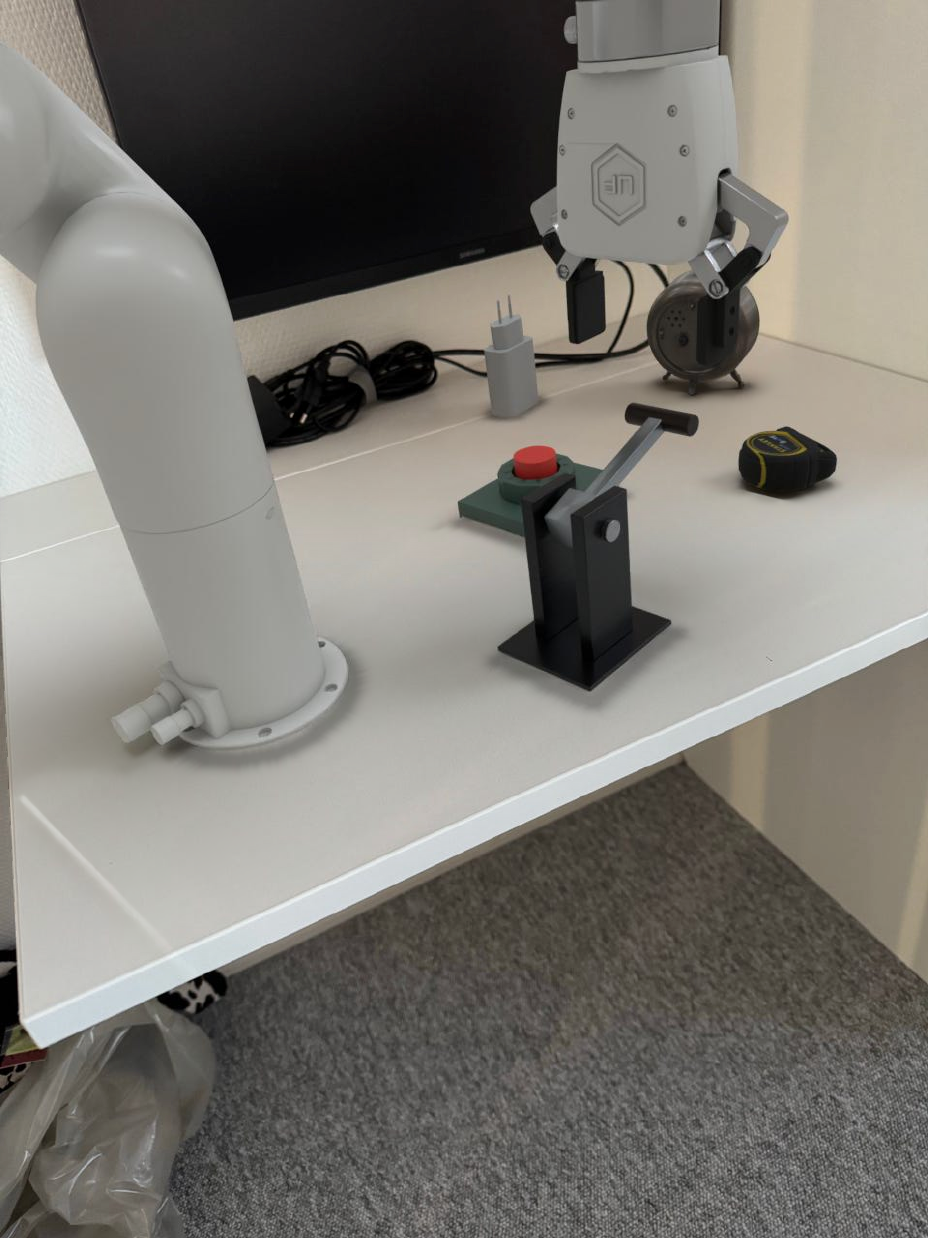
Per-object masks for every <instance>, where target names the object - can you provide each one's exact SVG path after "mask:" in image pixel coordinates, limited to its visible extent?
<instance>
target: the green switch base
mask: <svg viewBox="0 0 928 1238" xmlns="http://www.w3.org/2000/svg"><path fill="white" fill-rule="evenodd" d="M556 462H557V473H555V474H554V475H552V476H550V477H546V478H542V479H531V480H524V479H521V478H517V477H516V475H515V467H514V459H513V458H511V459H509V460H507V461H505V462H504V463H502V464H501V465H500V467H499V469H498V471H497V473H496V477H497V478H496V479H493V480H492V481H490V482H489V483H487V484H485V485H483V486H482V487H480V488H478V489H476V490H475V491H473V492H471V493H470V494H468V495H466V496H465V497H462V498H461V499H460V500H458V501H457V507H458V515H459V519H461V518H463V517H464V518H467V519H470V520H473V521H476V522H479V523H481V524H484V525H487V526H490V527H494V528H497V529H500V530H502V531H505V532H508V533H512V534H514V535H518V536H520V537H523V538H525V537H524V528H523V519H522V511H521V502H520V500H521V499H522V498H524V497H525V496H527V495H528V494H530V493H532V492H533V491H535V490H537V489H538V488H540V487H541V486H543V485H545V484H546V483H548V482H550V481H551V480H553V479H554V478H556V477H558V476H559V475H561V474H563V473H568V474H572V475H575V476H576V484H577V490H579V491H582V492H585V490H586V489H587V488H588V487H589V486H590V485H591V483H592V482H593V481H594V480H595V479H596V478H597V476H598V475H599V474H600V473H601V472H602V471H603V470H604V469H601V468H597V467H594V466H590V465H586V464H581V463H578V462H574V461H573V460H572V459H571V458H570V457H569V456H567V455H564V454H560V453H556ZM618 487H620V485H619V486H618Z"/></svg>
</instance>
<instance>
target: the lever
mask: <svg viewBox="0 0 928 1238" xmlns="http://www.w3.org/2000/svg"><path fill="white" fill-rule="evenodd" d="M624 421H625V422H626V423H627V424H628V425H633V426H638V427H639V428H637V429H636V431H635V432H634V434H633V435H632V436H631V437H630V438H629V439H628V440H627V441H626V443H625V444H623V446H622V447H621V449H619V451H618V452H617V454H616V455H614V456H613V458H612V459H611V460H610V461H609V462H608V464H607V465H606V466H605V467H604V468H603V469H602V470H603V471H602V472H601V473H600V474H599V475H598V476H597V478H596V479H595V480H594V481H593V482H592V483H591V485H590V486H589V487H588V488H587V489H586V490H585V492H582V491H579V490H575V489H572V488H569V489H568V490H567V491H566V492H565V494H564V495H563V496H562V497H561V498H560V499H559V500H558V502H557V503H556V504H555V505H554V506H553V507H552V508H551V510H550V511H549V512H548V513H547V514H546V515H545V517H544V518H545V520H546V523H547V525H548V528H549V530H550V533H551V535H552V538H553V540H554V543H556V544H559V545H562V546H565V547H568V548H571V549H573V543H572V531H571V519H570V515H571V514H572V513H573V512H575V511H576V510H578V509H579V508H581V507H582V506H584V505H585V504H587V503H589V502H590V501H592V500H593V499H595V498H596V497H598V496H599V495H601V494H602V493H604V492H605V491H607V490H608V489H610V488H611V487H613V486H617V487H618V486H619V487H620V485H621V483H623V481H624V480H625V479H626V478H627V476H628V475H629V474H630V473H631V472H632V470H633V469H635V467H636V466H637V465H638V464H639V463H640V462H641V460H642V458H643V457H644V456H645V455H646V454H647V453H649V451H650V449H651V448H653V446H654V445H655V444H656V443H657V441H658V440H659V439H660V437H661V436H662V435H663V434H664V433H665V432H666V433H670V434H675V435H679V436H684V437H690V438H691V437H693V436H694V435H696V433H697V431H698V429H699V426H700V425H699V424H700V420H699V417H698V415H697V414H694V413H689V412H685V411H679V410H674V409H669V408H664V407H660V406H659V407H658V406H654V405H649V404H642V403H638V402H630V403H629V404H627V406H626V408H625V411H624Z"/></svg>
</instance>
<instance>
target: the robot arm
mask: <svg viewBox="0 0 928 1238" xmlns="http://www.w3.org/2000/svg"><path fill="white" fill-rule="evenodd" d="M574 4H575V5H574V6H575V7H574V8H575V15H573V16H569V17H568V18H566V20H565V23H564V26H563V34H564V35H563V36H564V38H565V41H566V42H567V44H571V45H572V44H576V57H577V59H576V60H577V68H576V69H571V70H568V71H566V73H565V79H564V84H563V89H562V90H563V91H562V97H561V105H560V114H559V123H558V136H557V153H556V155H557V156H556V185H555V186H554V187H553V188H551V189H550V190H548V192H546V193H545V194H543V195H542V196H540V197H539V198H538V199H536V200H535V201H533V202H532V203H531V205H530V214H531V216H532V218H533V221H534V224H535V226H536V228H537V231H538V233H539V235H540V236H542V240H541V245H542V248H543V250H544V251H545V253H546V254H547V255H548V257H549V258H550V259H551V261H552V262H553V263H554V265H555V266H556V267H555V274H556V276H557V278H558V279H559V280H560V281H562V282H565V294H566V295H565V299H566V315H567V316H566V318H567V328H568V342H569V343H570V344H574V345H580V344H582V343H584V342H586V341H589V340H591V339H593V338H595V337H597V336H599V335H602V334H603V333H604V332H605V331H606V329H607V318H606V314H607V313H606V311H607V310H606V281H605V279H606V278H605V275H604V270H597V269H596V268H597V266H598V265H599V263H600V261H601V260H604V261H615V262H624V263H625V262H626V263H627V262H628V263H637V264H648V265H659V266H678V265H683V264H686V263H688V265H689V266H690V267H691V270H693V271H694V273H695V274H696V276H697V277H698V279H699V280H700V282H701V283H702V285H703V287H704V288H705V290H706V291H707V295H706V296H704V297H702V298H700V299H699V301H698V304H697V340H696V361H697V362H698V364H699V365H702V366H710V365H711V364H713V363H715V362H717V361H719V360H720V359H722V358H724V357H726V356H728V355H729V354H731V353H732V351H733V349H734V345H735V344H736V342H737V339H738V328H739V307H740V289H741V288H742V287H744V286H747V285H749V283H750V281H751V279H752V278H753V277H754V276H755V275H756V274H757V273H758V272H759V271H760V270H761V269H762V268H763V267H764V266H765V265H767V264H768V263H769V261H770V260H771V258H772V252H773V250H774V249H775V248H776V246H777V244H778V242H779V240H780V239H781V237H782V235H783V233H784V231H785V229H786V227H787V226H788V223H789V213H788V212H787V211H786V210H785V208H782V207H781V206H780V205H778V204H776V203H775V202H773V201H772V200H771V199H769V198H767V197H765V195H763V194H762V193H760V192H758V191H757V190H756V189H754V188H753V187H751V186H750V185H748V184H746V183H745V182H743V181H742V180H741V179H739V175H740V174H739V172H740V171H739V142H738V123H737V121H738V120H737V113H736V112H737V111H736V100H735V94H734V86H733V79H732V72H731V67H730V62H729V57H728V54H727V55H725V54H723V55H719V41H720V38H719V37H720V7H721V0H575V2H574ZM738 220H739V221H741V222H742V223H744V224H745V225H746V227H747V228H748V237H747V238H746V240H745V244H744V247H743V248H742V249H741V250H740V251H739V252H738V251H737V250H736V247H735V245H734V244H733V243H732V240H733V239H734V237H735V234H736V229H737V222H738ZM0 256H1V257H2V258H4V259H5V260H6V261H7V262H8V263H10V264H11V266H13V267H14V268H15V269H17V271H19V272H20V273H22V274H23V276H26V277H27V278H28V279H29V280H30V281H31V282H32V283H34V284H35V285H36V288H35V317H36V325H37V331H38V335H39V339H40V343H41V347H42V350H43V354H44V357H45V358H46V361H47V364H48V366H49V369H50V371H51V374H52V376H53V379H54V381H55V383H56V385H57V387H58V389H59V391H60V394H61V396H62V397H63V400H64V401H65V403H66V405H67V407H68V409H69V411H70V413H71V415H72V418H73V419H74V422H75V423H76V426H77V428H78V430H79V432H80V434H81V436H82V439H83V441H84V444H85V445H86V448H87V450H88V453H89V455H90V457H91V459H92V461H93V464H94V466H95V470H96V471H97V474H98V476H99V479H100V481H101V484H102V487H103V489H104V492H105V495H106V497H107V499H108V503H109V504H110V508H111V511H112V513H113V515H114V518H115V520H116V522H117V524H118V525H119V529H120V531H121V533H122V536H123V539H124V541H125V544H126V547H127V549H128V552H129V554H130V557H131V560H132V563H133V565H134V568H135V571H136V573H137V575H138V578H139V581H140V584H141V586H142V589H143V591H144V594H145V597H146V599H147V601H148V604H149V607H150V610H151V612H152V614H153V617H154V620H155V622H156V625H157V628H158V631H159V633H160V636H161V638H162V639H161V640H162V641H163V644H164V646H165V649H166V651H167V655H168V657H169V660H168V661H167V662H166V663H164V664H162V665H160V666H159V667H158V668H157V670H158V672H159V674H160V677H161V680H162V681H163V682H162V683H160V684H159V685H157V686H156V687H154V688H152V695H151V696H149V697H148V698H146V699H144V700H141V702H139V703H136V704H133V705H132V706H130V707H129V708H127V709H125V710H124V711H122V712H120V713H118V714H117V715H115V716H113V717H112V718H111V723H112V726H113V728H114V730H115V732H116V733H117V735H118V736H119V738H121V740H122V741H123V742H124V743H126V744H131V743H132V742H134V741H135V740H138V738H140V737H142V736H144V735H145V734H146V733H148V732H151V735H152V737H153V738H154V739H155V741H156V742H157V743H158V744H159V745H161V746H164V745H165V744H167V743H168V742H170V741H171V740H173V739H175V738H177V737H179V739H182V740H183V741H185V742H186V743H189V744H192V745H194V746H196V747H200V748H205V749H209V750H210V749H211V750H223V751H225V750H227V751H229V750H242V749H250V748H253V747H260V746H263V745H267V744H271V743H273V742H277V741H279V740H282V739H285V738H288V737H289V736H291V735H293V734H296V733H298V732H300V731H302V730H303V729H304V728H306V727H309V726H310V725H312V724H313V723H314V722H316V721H318V720H319V719H320V718H322V717H323V716H324V715H325V714H326V713H327V712H328V711H330V710H331V708H332V707H333V706H334V705H335V704H336V703H337V702H338V700H339V699H340V698H341V696H342V694H343V692H344V691H345V689H346V687H347V683H348V680H349V665H348V662H347V659H346V656H345V655H344V653H343V652H342V650H341V649H340V647H338V646H337V645H335V644H334V643H333V642H332V641H329V640H327V639H325V638H323V637H321V636H317V634H316V628H315V626H314V625H315V624H314V621H313V618H312V614H311V610H310V607H309V604H308V600H307V596H306V592H305V589H304V585H303V581H302V577H301V574H300V569H299V566H298V563H297V559H296V556H295V553H294V552H295V551H294V548H293V544H292V540H291V536H290V533H289V530H288V526H287V522H286V518H285V515H284V511H283V506H282V503H281V500H280V496H279V492H278V489H277V486H276V482H275V478H274V474H273V471H272V468H271V464H270V461H269V456H268V453H267V449H266V446H265V442H264V438H263V435H262V431H261V427H260V423H259V420H258V416H257V412H256V408H255V405H254V401H253V397H252V393H251V390H250V385H249V382H248V377H247V374H246V370H245V367H244V362H243V357H242V352H241V348H240V343H239V340H238V335H237V330H236V326H235V323H234V319H233V315H232V311H231V307H230V304H229V299H228V297H227V293H226V290H225V287H224V284H223V280H222V277H221V274H220V272H219V269H218V266H217V263H216V261H215V257H214V254H213V252H212V250H211V248H210V245H209V243H208V241H207V240H206V237H205V236H204V234H203V233H202V231H201V229H200V227H198V225H197V224H196V223H195V222H194V220H193V219H192V218H191V217H190V216H189V215H188V213H187V212H185V210H183V208H182V207H181V206H180V205H179V204H178V203H177V202H176V201H175V200H174V199H173V198H172V197H171V196H170V195H169V194H168V193H167V192H166V191H164V189H163V188H162V187H161V186H160V185H158V183H156V182H155V180H154V179H152V177H150V175H148V174H147V173H146V172H145V171H144V170H143V169H142V168H141V167H140V166H139V165H138V164H137V163H136V162H135V161H134V160H133V159H132V157H130V156H129V155H128V154H127V153H126V152H125V151H124V150H123V149H122V148H121V147H120V146H119V145H117V143H116V142H115V141H114V140H113V139H111V137H110V136H109V135H107V134H106V132H104V131H103V129H101V128H100V127H99V125H97V124H96V122H94V120H93V119H91V118H90V117H89V116H88V115H87V114H86V113H85V112H84V111H83V110H82V109H81V108H80V107H79V106H78V105H77V104H76V103H75V102H74V101H73V100H72V99H71V98H70V97H69V96H68V95H67V94H66V93H65V92H64V91H63V90H62V89H61V88H60V87H59V86H58V85H56V83H55V82H54V81H53V80H52V79H50V77H48V75H46V74H45V73H44V72H43V71H41V69H39V68H38V67H37V66H36V65H35V64H34V63H32V62H31V60H29V59H28V58H27V57H26V56H24V55H23V54H22V53H21V52H20V51H18V50H17V49H15V48H14V47H13V46H11V45H9V44H8V43H6V42H4V41H3V40H1V39H0ZM320 646H322V647H320ZM332 688H335V690H332V691H328V690H329V689H332ZM192 727H193V729H191V730H188V731H186V730H187V729H189V728H192ZM266 732H269V734H268V735H265V736H261V735H262V734H264V733H266Z"/></svg>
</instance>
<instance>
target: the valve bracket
mask: <svg viewBox="0 0 928 1238" xmlns="http://www.w3.org/2000/svg"><path fill="white" fill-rule="evenodd" d="M569 488H572V489H575V490H577V484H576V476H575V475H572V474H568V473H563V474H561V475H559V476H558V477H556V478H554V479H553V480H551V481H550V482H548V483H546V484H545V485H543V486H541V487H540V488H538V489H537V490H535V491H533V492H532V493H530V494H528V495H527V496H525V497H524V498H522V499H521V500H520V502H521V511H522V519H523V528H524V537H523V538H524V543H525V544H524V546H525V553H526V561H527V571H528V580H529V581H528V582H529V589H530V597H531V607H532V615H533V620H532V621H531V622H529V623H528V624H526V625H525V626H523V628H521V629H519V630H518V631H517V632H515V633H514V634H513V635H512V636H510V637H509V638H507V639H506V640H504V641H503V642H501V644H499V645H498V646H497V651H498V652H500V653H502V654H504V655H507V656H509V657H512V658H514V659H516V660H518V661H520V662H523V663H525V664H527V665H530V666H531V667H534V668H536V669H539V670H540V671H542V672H545V673H547V674H550V675H552V676H553V677H556V678H559V679H561V680H563V681H564V682H567V683H569V684H572V685H574V686H576V687H579V688H581V689H583V690H586V691H587V692H592V691H593V690H594V689H595V688H597V687H598V686H599V685H600V684H601V683H603V682H604V681H605V680H607V678H609V677H610V676H611V675H613V673H614V672H616V671H617V670H618V669H620V668H621V667H622V666H623V665H625V663H627V662H628V661H629V660H630V659H632V657H634V656H635V655H636V654H637V653H639V652H640V651H641V650H642V649H643V648H645V647H646V646H647V645H648V644H649V643H651V642H652V641H653V640H654V639H656V638H657V636H659V635H660V634H661V633H663V632H664V631H665V630H666V629H667V628H668V627H670V626H671V625H672V619H669V618H666V617H664V616H661V615H659V614H656V613H652V612H650V611H647V610H644V609H641V608H638V607H636V606H633V601H632V599H633V598H632V596H633V595H632V579H631V577H632V576H631V575H632V574H631V553H630V552H631V551H630V533H629V529H630V528H629V512H628V511H629V509H628V489H627V488H625V487H620V486H619V487H617V486H613V487H611V488H610V489H608V490H607V491H605V492H604V493H602V494H601V495H599V496H598V497H596V498H595V499H593V500H592V501H590V502H589V503H587V504H585V505H584V506H582V507H581V508H579V509H578V510H576V511H575V512H573V513H572V514H571V515H570V519H571V531H572V543H573V549H571V548H568V547H565V546H562V545H559V544H556V543H554V540H553V538H552V535H551V533H550V530H549V528H548V525H547V523H546V520H545V518H544V517H545V515H546V514H547V513H548V512H549V511H550V510H551V508H552V507H553V506H554V505H555V504H556V503H557V502H558V500H559V499H560V498H561V497H562V496H563V495H564V494H565V492H566V491H567V490H568V489H569Z"/></svg>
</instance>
